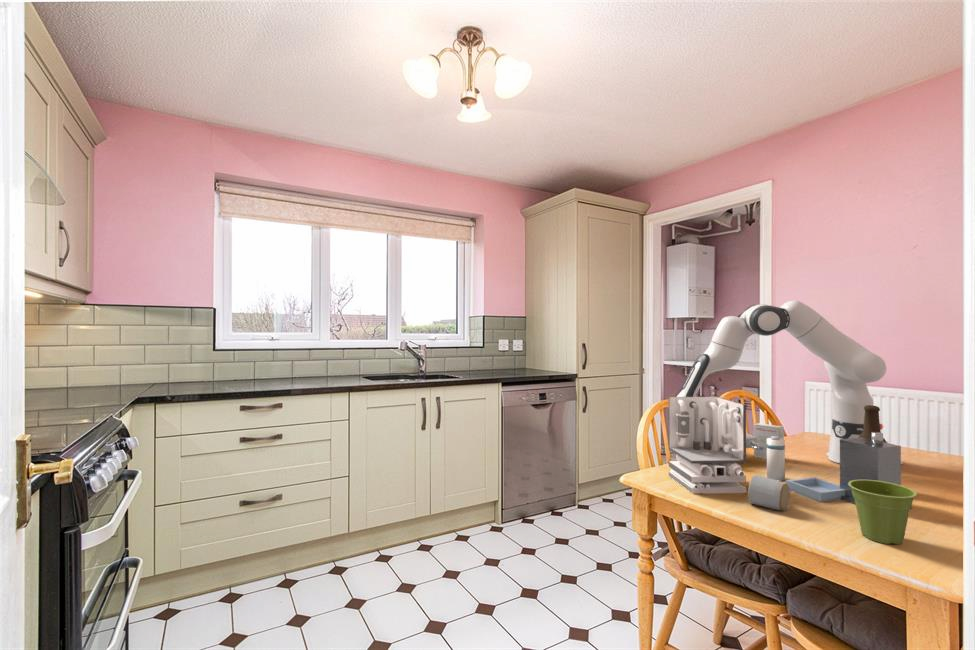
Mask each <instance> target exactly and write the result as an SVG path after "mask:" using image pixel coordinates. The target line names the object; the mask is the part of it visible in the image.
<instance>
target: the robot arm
mask: <svg viewBox="0 0 975 650" xmlns="http://www.w3.org/2000/svg"><path fill="white" fill-rule="evenodd" d="M783 330H785V331H786V332H788V333H789V334H790V335H792V336H793V338H795V340H797V341H798V342H799V343H801V345H803V347H805V349H807V350H809V351H810V352H811V353H812V354H813V355H815V356H817V357H819V358H820V359H822V361H823V366H824V369H825V370H826V372H827V374H828V378H829V383H830V387H831V392H832V399H833V401H832V402H833V419H831V421H832V422H831V429H832V430H833V431H832V432H831V433H830V437H829V446H828V451H826V454H825V455H826V456H827V458H828V460H829V461H831V462H834V463H837V464H840V439H849V438H858V437H859V436H860V435H861V434H862V432H863V428H864V415H865V410H864V406H866V405H873V406H874V399H873V397H872V395H871V394H870V392H869V388H868V385H867V384H869V383H870V384H871V383H875V382H877V381H880V380H881V379H883V378H884V376H885V375H886V372H887V364H886V362H885V360H884V359H883V357H881V356H879V355H878V354H876V353H874V352H872V351H870V350H869V349H867V348H866V347H865V346H864V345H862V344H861V343H859V342H857V341H856V340H854V339H852V338H851V337H849V336H847V335H846V334H845V333H843V332H842V331H840V330H839V329H838V328H837V327H835V326H834V325H833V324H831V322H829V321H828V320H827V319H826V318H825V317H823V316H822V315H821V314H819V312H817V311H816V310H814V309H813V308H812V307H810V306H808V305H807V304H805V303H804V302H801V301H800V300H797V299H794V300H789V301H786V302H784V303H783V304H782V305H781V306H779V307H778V306H774V305H771V304H761V303H760V304H754V305H753V304H752V305H750V306H748V307H747V308H746V309H744V310H743V311H742V312H741V313H740V314H739V315H737V316H734V315H730V316H724V317H723V318H722V319H721V320H720V322H719V323H718V324H717V327H716V328H715V330H714V333H713V334H712V337H711V340H710V342H709V345H708V347H707V348H706V350H704V352H703V353H702V354H700V355H698V357H696V359H695V360H694V362H693V364H692V366H691V368H690V370H689V372H688V374H687V376H686V378H685V379H684V381H683V384H682V385H681V387H680V389H679V391H678V392H677V393H676V395H675V396H674V397H698V396H697V393H698V392H699V390H700V388H701V386H702V384H703V382H704V380H705V379H706V377H707V376H709V375H710V374H713V373H716V372H719V371H726V370H728V369H731V368H733V367H735V366H736V365H737V364H738V362H739V360H741V356H742V354H743V351H744V347H745V344H746V342H747V340H748V339H749V338H750V337H751V336H752V335H759V336H766V337H768V336H772V335H775V334H777V333H780V332H782V331H783ZM883 428H884V425H883V423H880V431H882V430H883ZM886 442H887V443H889V442H888V441H887V440H886ZM746 449H752V450H754V449H759V444H757V438H756V437H755V436H754V434H753V435H752V434H750V433H747V432H746ZM903 464H904V463H903V461H902V460H901V465H903Z"/></svg>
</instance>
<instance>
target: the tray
mask: <svg viewBox="0 0 975 650" xmlns="http://www.w3.org/2000/svg"><path fill="white" fill-rule="evenodd" d="M785 484H787V485H788V486H789V489H790V492H792V491H793V493H795V494H799V495H800V494H801V496H804V497H806V498H810V499H811V500H813V501H817V502H819V503H827V502H834V501H842V500H841V496H845V490H844V489H840V484H838V483H835V482H831V481H829V480H825V479H822V478H820V477H815V476H813V477H805V478H795V479H794V478H793V479H785Z"/></svg>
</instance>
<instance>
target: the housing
mask: <svg viewBox="0 0 975 650" xmlns="http://www.w3.org/2000/svg"><path fill="white" fill-rule="evenodd" d="M883 438H884V433H883V432H881V433H880V432H871V439H866V438H862V437H861V438H849V439H840V463H839V485H840V489H844V490H845V496H841V500H840V501H843V502H846V503H850V504H852V505H854V506H856V503H855V498H854V497H853V494H852V489H851V487H850V486H849V485H848V482H849V481H852V480H877V481H883V482H889V483H893V484H897V485H901V486H902V482H901V481H902V477H901V476H902V473H901V472H902V466H901V465H902V464H901V461H902V459H901V458H902V456H901V455H902V447H901V445H899V444H894V443H890V442H888V443H885V442H883ZM910 510H912V506H911V507H910Z"/></svg>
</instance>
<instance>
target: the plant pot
mask: <svg viewBox="0 0 975 650" xmlns="http://www.w3.org/2000/svg"><path fill="white" fill-rule="evenodd" d="M848 485H849V486H850V487H851V489H852V494H853V497H854V498H855V503H856V505H855V507H856V512H857V517H858V523H859V526H860V531H861V534H862V535H863V536H865V538H867V539H869V540H871V541H873V542H878V543H880V544H886V545H887V544H888V545H889V544H894V545H900V544H901V545H902V544H903V543H904V540H905V534H906V530H907V524H908V519H909V515H910V510H911V509H910V507H911V508H912V505H913V503H914V502H913V501H914V498H915V497H918V496H917V495H918V494H917V492H916V491H915V490H913V489H912V488H909V487H906V486H904V485H902V484H901V485H897V484H893V483H889V482H883V481H877V480H852V481H849V482H848Z"/></svg>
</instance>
